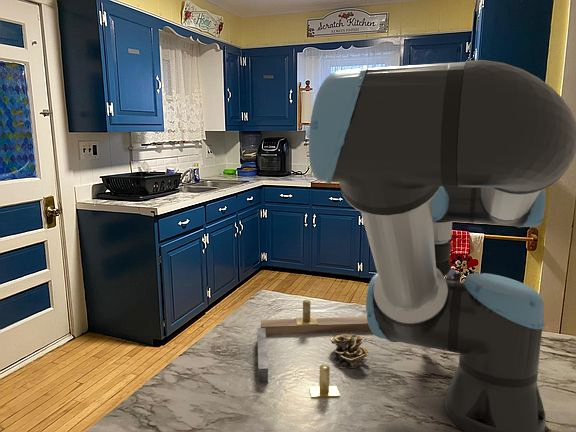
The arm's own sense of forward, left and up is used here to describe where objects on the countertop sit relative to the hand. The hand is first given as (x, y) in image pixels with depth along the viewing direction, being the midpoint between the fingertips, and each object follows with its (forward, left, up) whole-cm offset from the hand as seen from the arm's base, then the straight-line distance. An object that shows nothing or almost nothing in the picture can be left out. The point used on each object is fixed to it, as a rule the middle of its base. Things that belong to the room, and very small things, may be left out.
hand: (425, 346), depth 95 cm
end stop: (0, +35, -2) cm, 35 cm away
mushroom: (0, +16, -2) cm, 16 cm away
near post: (-13, +24, -2) cm, 27 cm away
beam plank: (+14, +20, -2) cm, 24 cm away
